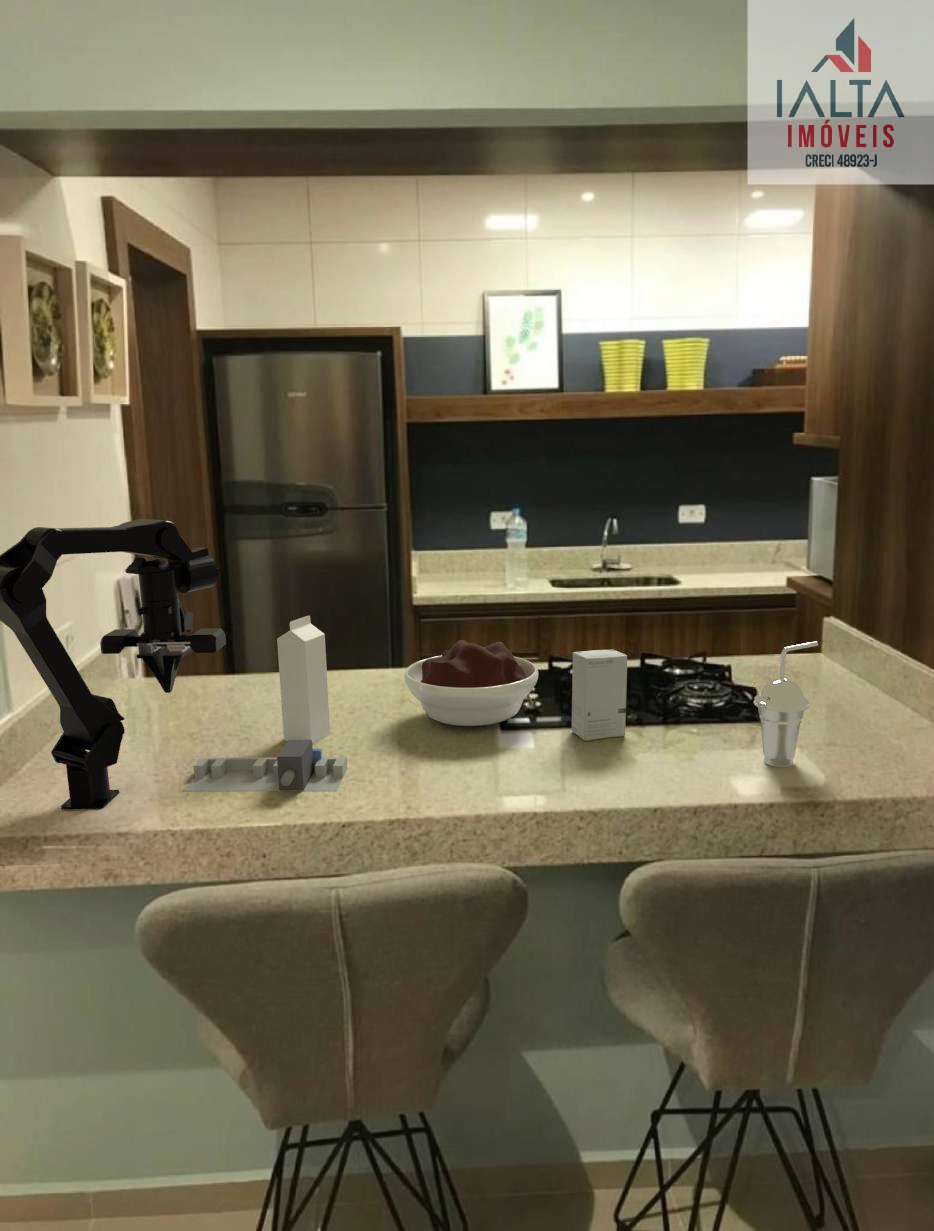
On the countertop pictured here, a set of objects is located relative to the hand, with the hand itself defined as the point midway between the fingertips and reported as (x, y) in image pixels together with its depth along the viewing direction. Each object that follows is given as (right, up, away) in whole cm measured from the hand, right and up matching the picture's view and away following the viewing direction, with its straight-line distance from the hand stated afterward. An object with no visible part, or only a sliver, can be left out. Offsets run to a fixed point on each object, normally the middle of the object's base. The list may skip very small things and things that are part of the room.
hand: (168, 692), depth 154 cm
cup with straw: (+99, -11, -1) cm, 100 cm away
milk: (+20, -10, +15) cm, 27 cm away
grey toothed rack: (+17, -14, -4) cm, 22 cm away
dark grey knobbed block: (+22, -14, -6) cm, 27 cm away
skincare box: (+72, -9, +14) cm, 74 cm away
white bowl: (+50, -7, +24) cm, 56 cm away
